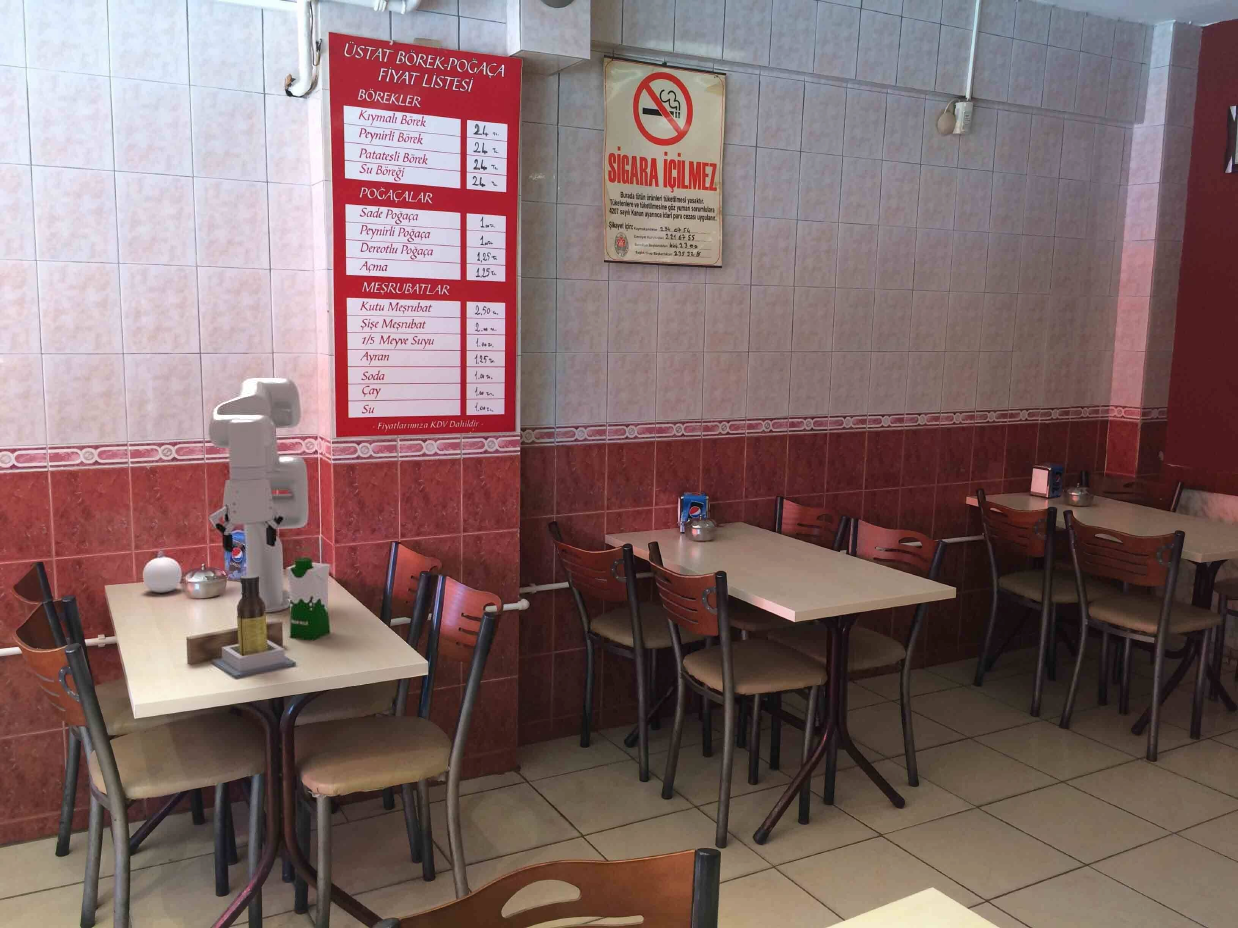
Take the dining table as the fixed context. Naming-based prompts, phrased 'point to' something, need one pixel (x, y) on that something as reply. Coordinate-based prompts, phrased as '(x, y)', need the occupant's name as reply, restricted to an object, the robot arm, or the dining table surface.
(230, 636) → the walnut wall
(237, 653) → the holder
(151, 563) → the ornament
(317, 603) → the milk carton
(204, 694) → the dining table surface
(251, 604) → the sauce bottle
